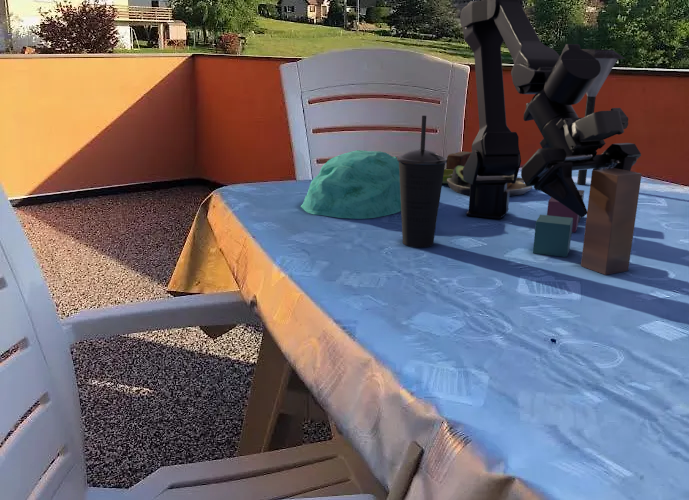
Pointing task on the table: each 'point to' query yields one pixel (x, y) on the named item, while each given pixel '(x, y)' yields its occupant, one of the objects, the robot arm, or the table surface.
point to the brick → (457, 159)
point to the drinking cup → (420, 193)
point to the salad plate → (464, 187)
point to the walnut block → (610, 220)
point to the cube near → (552, 235)
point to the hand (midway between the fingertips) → (608, 212)
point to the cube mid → (562, 212)
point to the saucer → (447, 175)
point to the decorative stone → (356, 186)
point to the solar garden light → (597, 87)
